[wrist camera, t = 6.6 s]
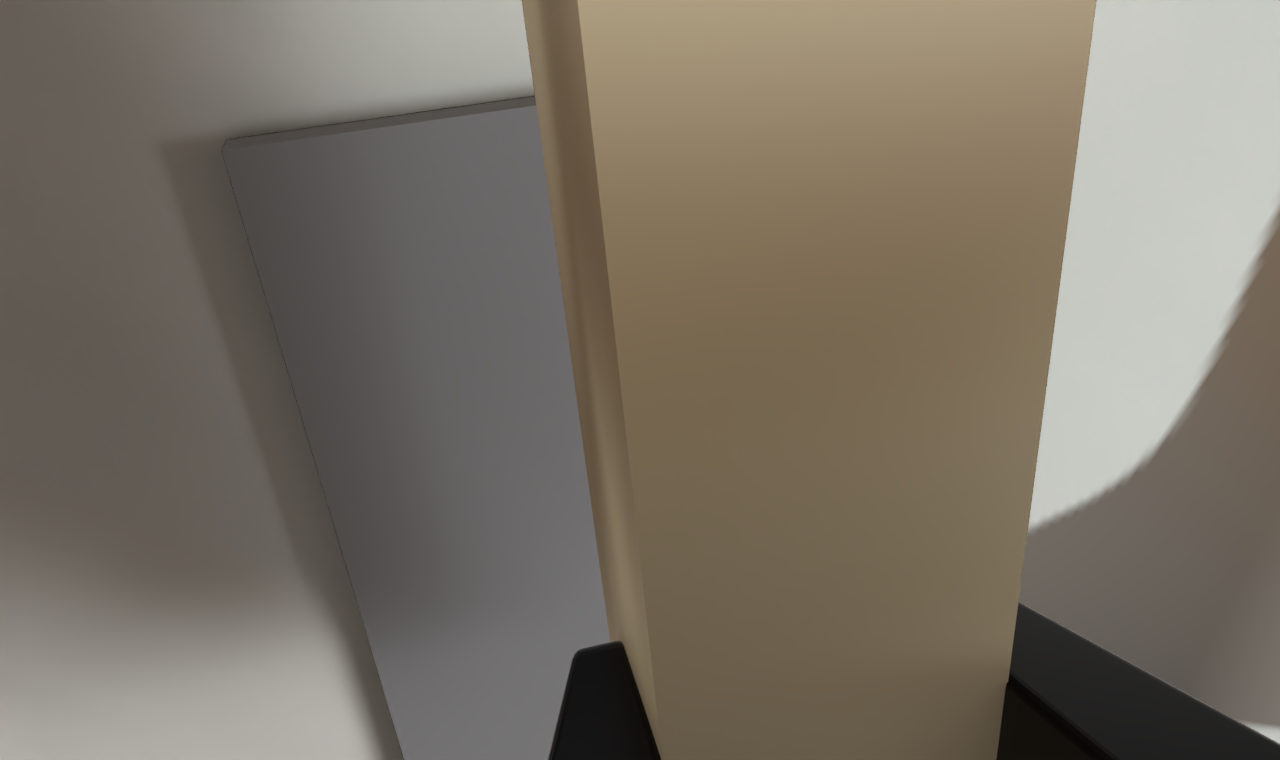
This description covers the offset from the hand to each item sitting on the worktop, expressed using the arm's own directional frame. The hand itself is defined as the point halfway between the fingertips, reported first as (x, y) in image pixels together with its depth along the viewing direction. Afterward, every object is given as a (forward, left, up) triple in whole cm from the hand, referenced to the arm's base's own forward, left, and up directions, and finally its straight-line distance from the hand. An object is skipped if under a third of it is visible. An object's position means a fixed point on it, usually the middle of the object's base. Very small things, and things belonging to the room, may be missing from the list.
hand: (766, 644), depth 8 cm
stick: (+4, 0, -1) cm, 4 cm away
